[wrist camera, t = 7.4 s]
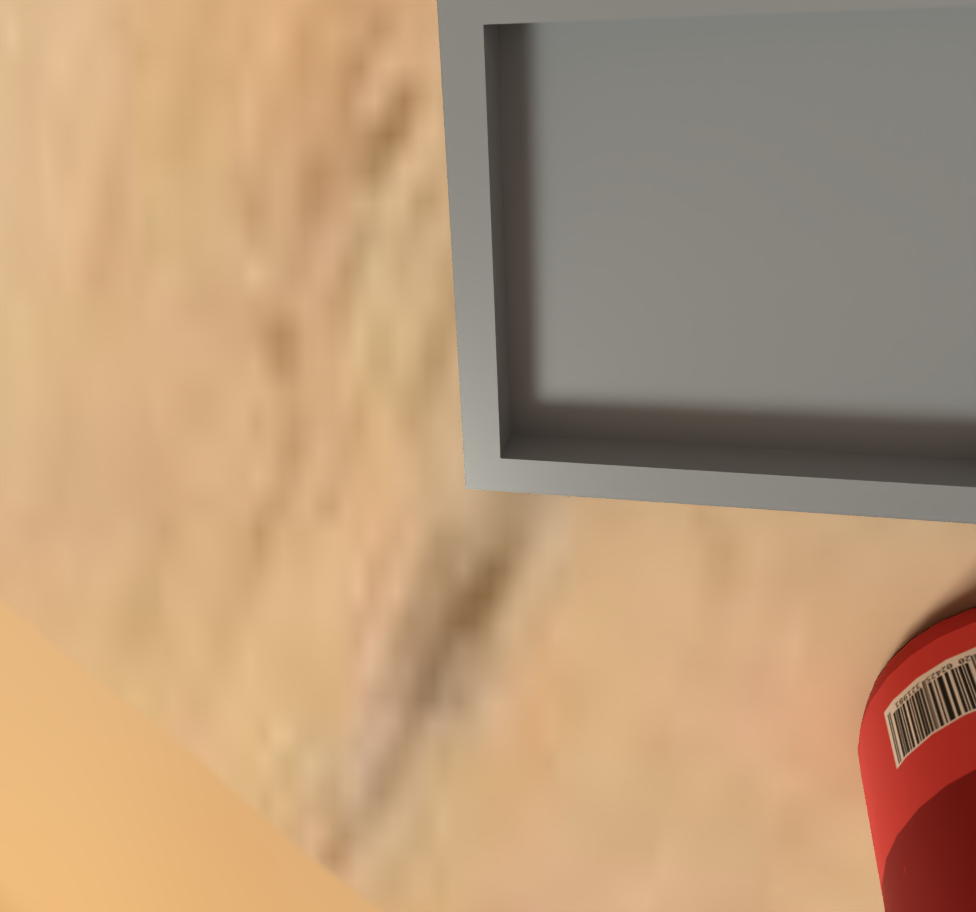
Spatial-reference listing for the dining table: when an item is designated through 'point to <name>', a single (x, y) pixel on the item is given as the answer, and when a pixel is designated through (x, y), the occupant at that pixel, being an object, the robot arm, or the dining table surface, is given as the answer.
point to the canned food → (924, 770)
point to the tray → (716, 250)
